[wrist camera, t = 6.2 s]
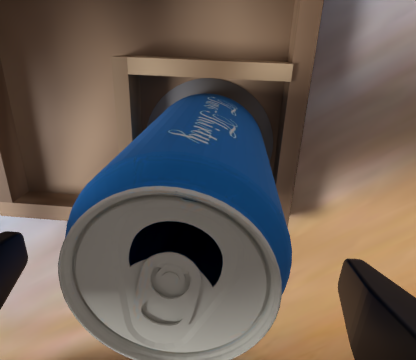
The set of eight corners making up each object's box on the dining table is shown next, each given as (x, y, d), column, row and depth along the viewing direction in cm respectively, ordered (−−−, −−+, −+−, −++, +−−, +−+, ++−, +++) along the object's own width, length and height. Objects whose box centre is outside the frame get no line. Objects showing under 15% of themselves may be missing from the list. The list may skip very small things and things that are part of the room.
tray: (24, 197, 22) (-3, 217, 20) (-28, -37, 17) (-75, -51, 14) (280, 216, 21) (286, 240, 19) (316, -29, 16) (332, -43, 13)
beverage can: (277, 107, 18) (346, 215, 7) (244, 206, 20) (254, 401, 9) (164, 78, 17) (43, 136, 6) (146, 181, 20) (37, 347, 9)
